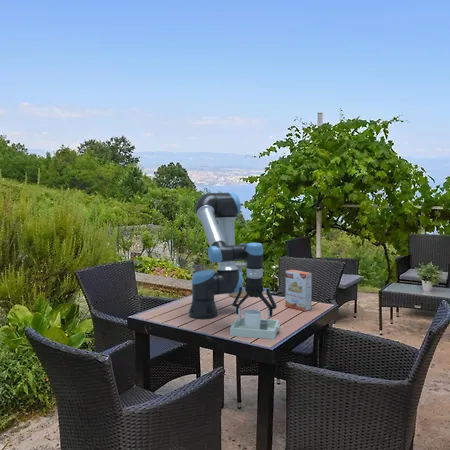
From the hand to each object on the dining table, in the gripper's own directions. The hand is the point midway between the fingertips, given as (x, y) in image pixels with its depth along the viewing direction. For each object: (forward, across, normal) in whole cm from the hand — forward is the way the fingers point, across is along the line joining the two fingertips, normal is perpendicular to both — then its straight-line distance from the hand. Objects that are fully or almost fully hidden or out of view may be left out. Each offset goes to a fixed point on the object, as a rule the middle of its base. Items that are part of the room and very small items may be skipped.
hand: (254, 322), depth 216 cm
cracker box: (+7, +16, +50) cm, 53 cm away
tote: (+6, 0, +2) cm, 6 cm away
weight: (+5, 0, +7) cm, 8 cm away
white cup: (+5, -1, 0) cm, 5 cm away
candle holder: (+7, -22, +72) cm, 76 cm away
